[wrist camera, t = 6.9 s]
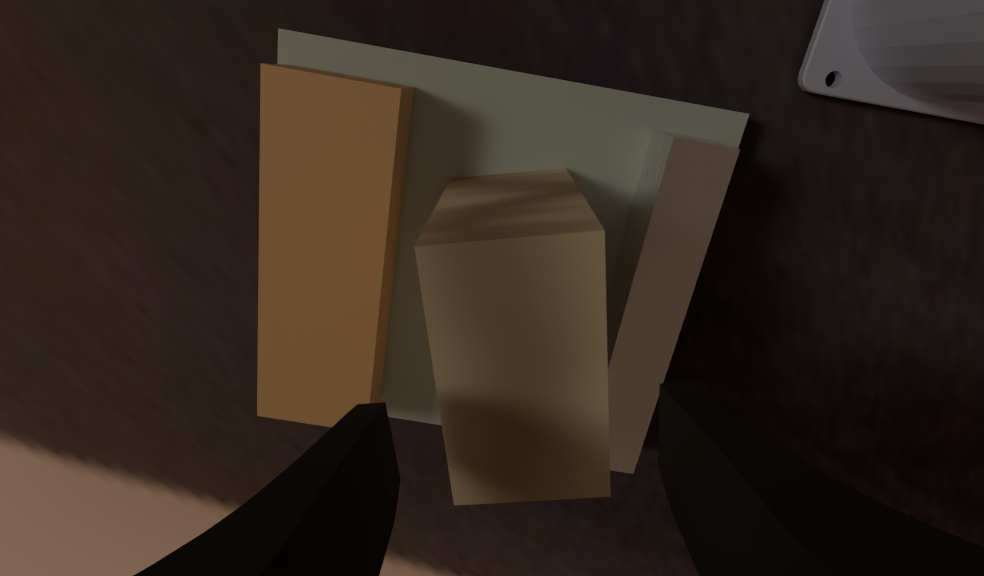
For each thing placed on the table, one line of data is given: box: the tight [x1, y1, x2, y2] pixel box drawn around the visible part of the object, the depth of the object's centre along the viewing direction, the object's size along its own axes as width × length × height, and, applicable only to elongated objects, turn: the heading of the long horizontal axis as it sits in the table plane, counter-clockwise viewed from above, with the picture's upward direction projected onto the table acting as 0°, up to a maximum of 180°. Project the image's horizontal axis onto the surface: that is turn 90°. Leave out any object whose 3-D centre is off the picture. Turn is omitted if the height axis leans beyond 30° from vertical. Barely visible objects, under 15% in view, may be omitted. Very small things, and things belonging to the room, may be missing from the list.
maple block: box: [414, 168, 610, 505], centre depth 16 cm, size 4×7×8 cm, turn 6°
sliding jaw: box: [257, 63, 414, 427], centre depth 19 cm, size 4×12×2 cm, turn 170°
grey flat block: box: [278, 28, 749, 474], centre depth 19 cm, size 16×14×4 cm
